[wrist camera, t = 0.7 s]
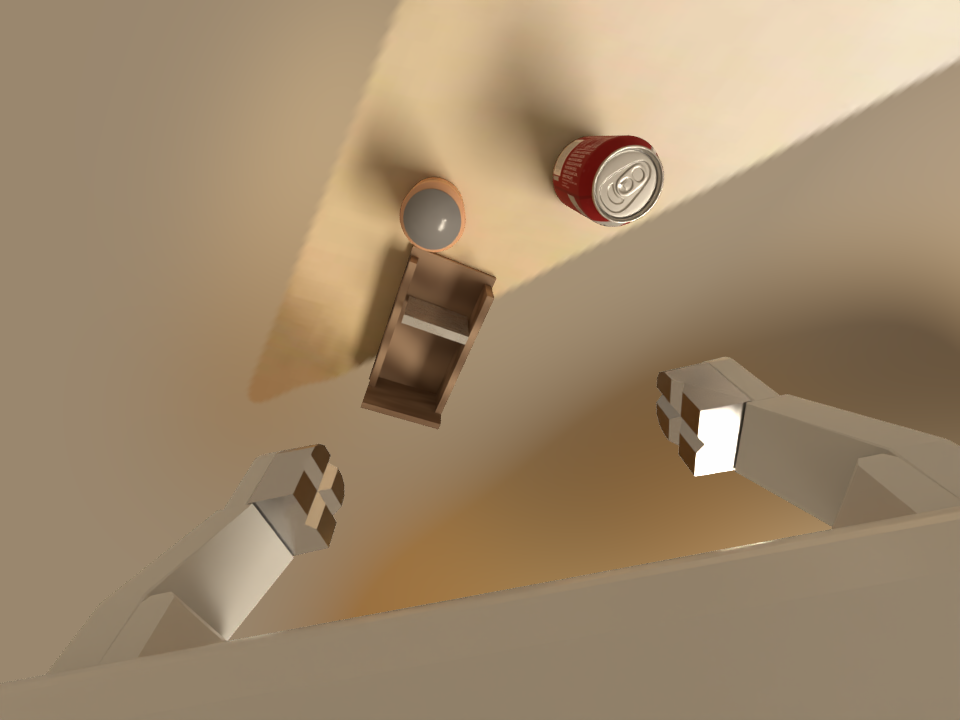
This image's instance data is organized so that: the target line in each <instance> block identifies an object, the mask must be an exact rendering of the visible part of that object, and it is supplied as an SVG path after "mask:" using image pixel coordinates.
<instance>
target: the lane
mask: <svg viewBox="0 0 960 720" xmlns="http://www.w3.org/2000/svg"><path fill="white" fill-rule="evenodd" d="M495 280H496V277H494V276H491V275H489V274H486V273H484V272H481V271H479V270H476V269H473V268H471V267H468V266H466V265H463V264H461V263H458V262H456V261H453V260H451V259H448V258H446V257H443V256H441V255H438V254H436V253H433V252H429V251H425V250H422V249H420V248H418V247H416V246H415V245H413V247H412V250H411V253H410V256H409V260H408V263H407V266H406V269H405V272H404V275H403V278H402V281H401V284H400V287H399V290H398V293H397V296H396V299H395V302H394V305H393V308H392V311H391V314H390V317H389V320H388V323H387V326H386V329H385V332H384V335H383V338H382V341H381V344H380V347H379V350H378V353H377V356H376V359H375V362H374V365H373V368H372V372H371V374H370V378H369V379H370V382H369V385H368V388H367V391H366V394H365V396H364V399H363V402H362V405H361V408H365V409H368V410H372V411H376V412H379V413H382V414H386V415H390V416H393V417H397V418H400V419H404V420H407V421H411V422H414V423H418V424H422V425H425V426H428V427H432V428H436V429H439V426H440V423H441V413H442V411H443V409H444V406H445V404H446V402H447V400H448V398H449V396H450V393H451V391H452V389H453V387H454V384H455V382H456V380H457V378H458V376H459V374H460V372H461V369H462V367H463V365H464V363H465V361H466V359H467V356H468V354H469V352H470V350H471V348H472V346H473V343H474V341H475V339H476V337H477V335H478V332H479V330H480V328H481V326H482V324H483V322H484V319H485V317H486V315H487V313H488V311H489V308H490V306H491V304H492V302H493V300H494V296H493V292H492V287H493V285H494V283H495ZM409 296H412V297H414V298H417V299H420V300H423V301H425V302H428V303H431V304H434V305H436V306H439V307H442V308H445V309H447V310H450V311H453V312H456V313H458V314H461V315H464V316H467V320H468V334H469V338H468V340H467V342H466V344H465V345H464V344H462V343H459V342H456V341H453V340H450V339H447V338H444V337H441V336H438V335H435V334H433V333H430V332H427V331H424V330H421V329H418V328H415V327H412V326H409V325H406V324H403V323H401V322H402V319H403V315H404V312H405V308H406V305H407V302H408V299H409Z"/></svg>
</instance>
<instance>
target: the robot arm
mask: <svg viewBox="0 0 960 720" xmlns="http://www.w3.org/2000/svg"><path fill="white" fill-rule="evenodd" d="M657 388H658V389H659V391H660V392H661V393H662V396H661V397H660V398H659V400H658V401H657V402H656V403H657V404H656V408H657V417H658V421H659V425H660V427H661V429H662V431H663V433H664V435H665V436H666V438H667V439H668V440H669V441H671V442H673V443H675V444H677V445H679V456H680V457H681V458H682V460H683V461H684V462H685V464H686V465H687V467H688V468H689V469H690V471H691V472H692V473H693V475H694V476H698V475H705V474H711V473H716V472H722V471H728V470H734V469H735V472H737V473H739V474H740V475H742V476H744V477H746V478H748V479H749V480H751V481H753V482H755V483H756V484H758V485H760V486H761V487H764V488H765V489H767V490H768V491H770V492H772V493H774V494H776V495H777V496H779V497H781V498H783V499H785V500H786V501H788V502H790V503H791V504H793V505H795V506H797V507H798V508H800V509H802V510H804V511H805V512H807V513H809V514H811V515H813V516H814V517H816V518H818V519H819V520H821V521H823V522H825V523H827V524H828V525H830V526H832V529H830V530H825V531H820V532H815V533H809V534H803V535H798V536H793V537H788V538H782V539H777V540H772V541H766V542H760V543H755V544H750V545H744V546H738V547H733V548H728V549H722V550H717V551H711V552H706V553H701V554H695V555H691V556H685V557H679V558H674V559H669V560H663V561H658V562H653V563H647V564H642V565H637V566H631V567H626V568H620V569H615V570H610V571H604V572H599V573H594V574H589V575H583V576H578V577H572V578H567V579H562V580H556V581H550V582H545V583H540V584H534V585H529V586H524V587H518V588H513V589H507V590H502V591H496V592H491V593H485V594H480V595H475V596H470V597H465V598H459V599H453V600H448V601H442V602H437V603H431V604H426V605H421V606H415V607H410V608H404V609H399V610H393V611H388V612H382V613H377V614H372V615H366V616H361V617H355V618H350V619H345V620H339V621H334V622H329V623H323V624H318V625H313V626H307V627H302V628H296V629H291V630H285V631H280V632H274V633H269V634H264V635H258V636H253V637H247V638H243V639H237V640H231V641H228V639H229V638H230V637H231V636H232V634H233V633H234V632H235V631H236V629H237V628H238V627H239V626H240V624H241V623H242V622H243V621H244V619H245V618H246V617H247V616H248V614H249V613H250V612H251V611H252V609H253V608H254V607H255V606H256V604H257V603H258V602H259V601H260V599H261V598H262V597H263V595H264V594H265V593H266V592H267V591H268V589H269V588H270V587H271V585H272V584H273V583H274V582H275V580H276V579H277V578H278V577H279V576H280V574H281V573H282V572H283V570H284V569H285V568H286V567H287V565H288V564H289V563H290V562H291V560H292V559H293V556H295V555H299V554H303V553H308V552H312V551H316V550H321V549H325V548H329V546H330V542H331V539H332V536H333V533H334V529H335V526H336V520H335V519H334V517H333V515H334V514H335V513H336V512H337V511H338V510H339V508H341V506H342V503H343V499H344V482H343V478H342V475H341V473H340V471H339V469H338V468H336V467H335V466H333V465H331V464H329V463H328V462H329V459H330V454H329V452H328V450H327V449H326V447H325V445H322V444H315V445H309V446H304V447H299V448H293V449H288V450H283V451H280V452H273V453H269V454H263V455H261V456H259V457H257V458H256V459H255V460H254V462H253V463H252V465H251V467H250V468H249V470H248V471H247V473H246V474H245V476H244V478H243V479H242V481H241V482H240V484H239V486H238V487H237V489H236V490H235V492H234V493H233V495H232V497H231V498H230V500H229V501H228V503H227V505H226V506H225V508H224V509H223V510H219V511H216V512H215V513H214V514H212V515H211V516H210V517H208V518H207V519H206V520H205V521H204V522H202V523H201V524H200V525H198V526H197V527H196V528H195V529H193V530H192V531H191V532H190V533H188V534H187V535H186V536H184V537H183V538H182V539H181V540H179V541H178V542H177V543H176V544H175V545H173V546H172V547H171V548H169V549H168V550H167V551H166V552H164V553H163V554H162V555H160V556H159V557H158V558H157V559H155V560H154V561H153V562H152V563H150V564H149V565H148V566H147V567H145V568H144V569H143V570H142V571H140V572H139V573H138V574H137V575H135V576H134V577H133V578H132V579H130V580H129V581H128V582H126V583H125V584H124V585H123V586H121V587H120V588H119V589H118V590H116V591H115V592H114V593H112V594H111V595H110V596H109V597H108V598H106V599H105V600H104V601H102V602H101V603H100V604H99V605H98V607H97V608H96V609H95V611H94V612H93V613H92V614H91V616H90V617H89V619H88V620H87V621H86V622H85V624H84V625H83V626H82V628H81V629H80V630H79V632H78V633H77V634H76V635H75V637H74V638H73V639H72V641H71V642H70V643H69V645H68V646H67V647H66V648H65V650H64V651H63V652H62V654H61V655H60V656H59V658H58V659H57V660H56V662H55V663H54V664H53V665H52V667H51V668H50V669H49V671H48V672H47V673H46V675H42V676H37V677H32V678H26V679H21V680H16V681H10V682H4V683H0V720H960V446H958V445H957V444H955V443H953V442H952V441H950V440H948V439H945V438H941V437H938V436H934V435H931V434H927V433H923V432H920V431H916V430H913V429H909V428H906V427H902V426H898V425H895V424H891V423H888V422H884V421H881V420H877V419H874V418H870V417H866V416H863V415H860V414H856V413H852V412H849V411H845V410H842V409H838V408H835V407H831V406H828V405H824V404H820V403H817V402H813V401H810V400H806V399H802V398H799V397H796V396H792V395H789V394H786V395H781V396H780V395H778V394H777V393H776V392H775V391H773V390H772V389H771V388H769V387H768V386H767V385H766V384H764V383H763V382H762V381H760V380H759V379H758V378H756V377H755V376H754V375H752V374H751V373H750V372H749V371H747V370H746V369H745V368H743V367H742V366H741V365H740V364H738V363H737V362H736V361H734V360H733V359H732V358H728V357H722V358H719V359H714V360H710V361H706V362H703V363H700V364H696V365H691V366H686V367H682V368H677V369H672V370H668V371H663V372H659V374H658V377H657Z"/></svg>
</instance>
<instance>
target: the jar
mask: <svg viewBox="0 0 960 720" xmlns="http://www.w3.org/2000/svg"><path fill="white" fill-rule="evenodd" d="M465 220H466V219H465V210H464V203H463V199H462V196H461V194H460V192H459V191H458V189H457V188H456V187H455V186H454V185H453V184H452V183H451V182H449V181H447V180H445V179H443V178H439V177H430V178H426V179H423V180H421V181H420V182H418V183H417V184H416V185H415V186H414V187H413V188H412V190H411V191H410V192H409V193H408V194H407V196H406V197H405V199H404V200H403V203H402V205H401V209H400V223H401V227H402V229H403V232H404V234H405V235H406V237H407V238H408V240H409V241H410V242H411V243H412V244H414V245H415V246H416V247H418V248H420V249H422V250H425V251H429V252H439V251H444V250H446V249H448V248H450V247H452V246H453V245H454V244H455V243H456V242H457V241H458V240H459V239H460V237H461V236H462V233H463V231H464V228H465Z"/></svg>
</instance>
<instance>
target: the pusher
mask: <svg viewBox="0 0 960 720" xmlns="http://www.w3.org/2000/svg"><path fill="white" fill-rule="evenodd" d="M401 323H403V324H406V325H409V326H412V327H415V328H418V329H421V330H424V331H427V332H430V333H433V334H435V335H438V336H441V337H444V338H447V339H450V340H453V341H456V342H459V343H462V344H464V345H465V344H466V342H467V340H468V338H469V334H468V320H467V316H464V315H461V314H458V313H456V312H453V311H450V310H447V309H445V308H442V307H439V306H436V305H434V304H431V303H428V302H425V301H423V300H420V299H417V298H414V297H412V296H409V299H408V302H407V305H406V308H405V312H404V315H403V319H402V322H401Z"/></svg>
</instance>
